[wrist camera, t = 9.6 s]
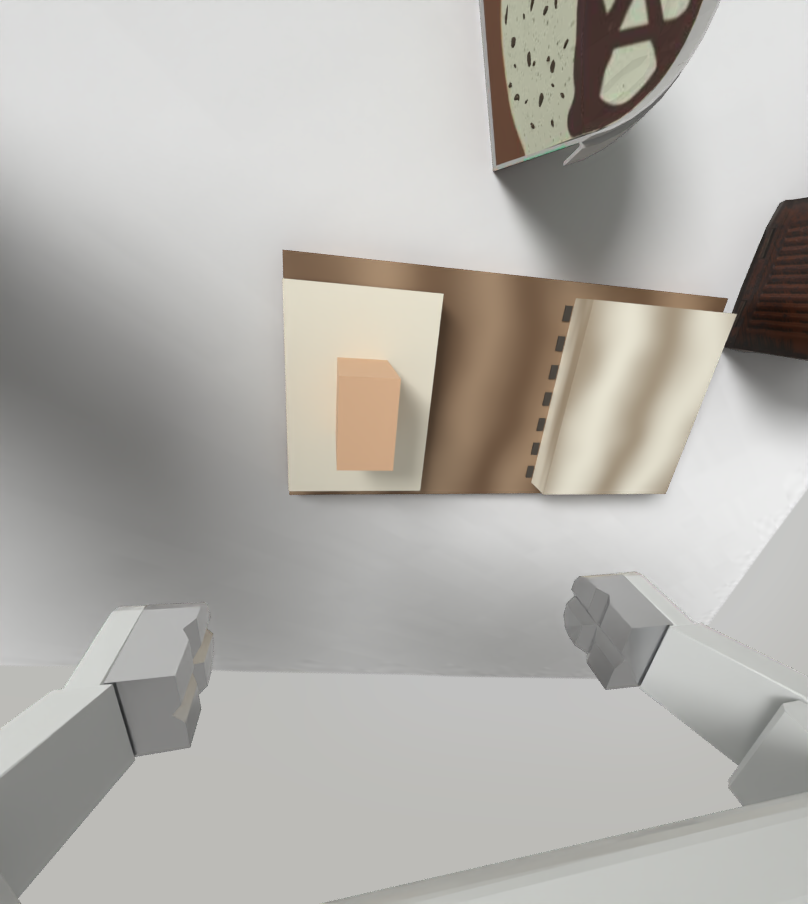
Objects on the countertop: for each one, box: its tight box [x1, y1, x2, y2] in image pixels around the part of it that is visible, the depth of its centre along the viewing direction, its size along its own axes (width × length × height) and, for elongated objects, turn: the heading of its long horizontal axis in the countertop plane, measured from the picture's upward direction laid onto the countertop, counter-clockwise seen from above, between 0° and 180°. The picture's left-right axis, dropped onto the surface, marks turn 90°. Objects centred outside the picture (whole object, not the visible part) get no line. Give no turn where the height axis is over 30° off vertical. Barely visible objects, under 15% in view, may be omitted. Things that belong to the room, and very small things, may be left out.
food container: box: [479, 0, 720, 171], centre depth 18 cm, size 12×6×10 cm, turn 11°
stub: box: [282, 278, 444, 491], centre depth 23 cm, size 9×13×7 cm
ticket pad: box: [283, 250, 737, 495], centre depth 28 cm, size 31×16×4 cm, turn 85°
